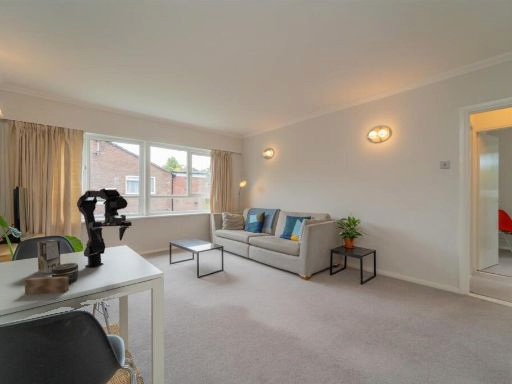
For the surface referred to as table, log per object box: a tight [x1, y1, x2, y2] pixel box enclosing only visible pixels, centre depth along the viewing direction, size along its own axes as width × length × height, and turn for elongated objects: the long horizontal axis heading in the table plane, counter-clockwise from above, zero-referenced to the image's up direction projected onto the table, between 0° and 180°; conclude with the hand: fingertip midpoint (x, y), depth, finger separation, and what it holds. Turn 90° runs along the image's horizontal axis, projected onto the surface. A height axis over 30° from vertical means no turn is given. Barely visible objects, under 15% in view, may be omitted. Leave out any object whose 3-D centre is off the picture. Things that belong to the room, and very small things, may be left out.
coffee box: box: [37, 239, 61, 274], centre depth 128 cm, size 9×6×16 cm
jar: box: [50, 262, 79, 285], centre depth 113 cm, size 10×10×8 cm
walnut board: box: [24, 276, 70, 295], centre depth 102 cm, size 16×2×6 cm, turn 95°
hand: (111, 241), depth 124 cm, fingers open, 9 cm apart
